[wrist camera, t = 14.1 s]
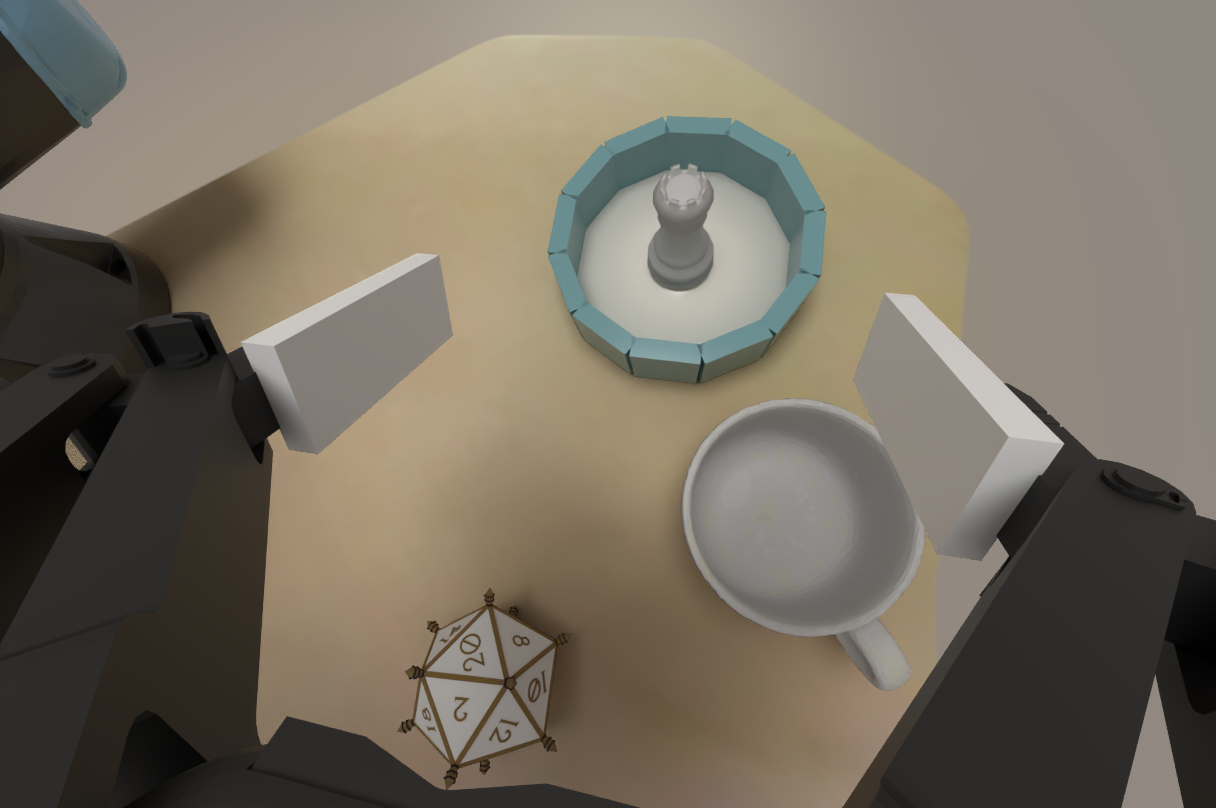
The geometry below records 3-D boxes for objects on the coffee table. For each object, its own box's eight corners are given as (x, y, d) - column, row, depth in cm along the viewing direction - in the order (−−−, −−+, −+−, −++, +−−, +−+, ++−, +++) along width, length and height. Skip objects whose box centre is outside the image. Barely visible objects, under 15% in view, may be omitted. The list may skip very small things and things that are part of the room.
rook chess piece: (706, 227, 32) (718, 138, 24) (719, 286, 31) (735, 213, 23) (642, 239, 33) (634, 156, 25) (652, 298, 32) (647, 230, 24)
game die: (501, 634, 33) (368, 606, 26) (594, 590, 30) (470, 546, 23) (501, 798, 27) (329, 814, 20) (619, 764, 24) (460, 770, 17)
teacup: (656, 451, 30) (652, 434, 23) (819, 402, 30) (872, 366, 22) (728, 679, 27) (752, 750, 19) (912, 629, 27) (1014, 682, 19)
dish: (547, 365, 33) (529, 344, 28) (586, 160, 36) (575, 112, 31) (791, 395, 30) (812, 377, 26) (811, 172, 33) (833, 122, 29)
